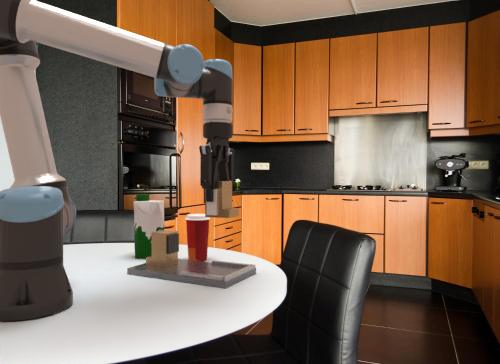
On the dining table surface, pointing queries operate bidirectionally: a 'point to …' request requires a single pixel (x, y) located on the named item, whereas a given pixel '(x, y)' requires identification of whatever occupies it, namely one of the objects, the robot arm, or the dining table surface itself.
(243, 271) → the gray tray with block
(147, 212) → the milk carton
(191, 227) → the paper cup
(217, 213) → the upright wooden block
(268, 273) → the dining table surface
